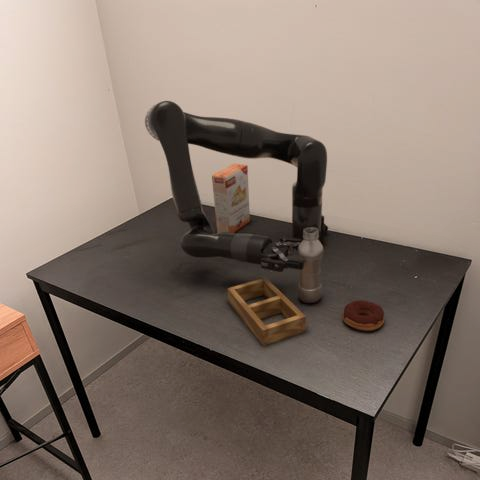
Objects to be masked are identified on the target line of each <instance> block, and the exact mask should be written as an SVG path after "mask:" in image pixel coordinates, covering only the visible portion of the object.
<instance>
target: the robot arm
mask: <svg viewBox="0 0 480 480" xmlns="http://www.w3.org/2000/svg"><path fill="white" fill-rule="evenodd" d="M144 127H145V129H146V131H147V133H148V134H149V135H150V136H151V137H152V138H153V139H154V140H156V141H159V143H160V145H161V148H162V151H163V153H164V157H165V159H166V163H167V169H168V173H169V182H170V190H171V195H172V199H173V203H174V205H175V206H174V207H175V209H176V213H177V216H178V219H179V220H180V221H181V222H183V223H188V225H189V227H190V230H189V231H187V232H186V233H184V235H182V237H181V239H180V247H181V249H182V251H183V252H184V253H185V254H186V255H188V256H190V257H193V258H203V259H204V258H223V259H229V260H235V261H239V262H242V263H248V264H254V265H260V266H261V267H260V268H261V269H263V270H268V271H273V272H277V273H278V272H279V273H283V272H284V270H288V269H294V270H299V271H300V270H302V269H303V268H304V262H303V261H301V260H299V259H295V258H288V257H290V256H293V255H294V254H298V247H299V245H300V244H301V242H302V241H303V240H304V239H303V231H304V229H305V228H309V227H314V228H317V229H318V235H319V238H318V240H319V241H320V243H321V244H322V245H324V237H325V236H324V235H325V234H327V233H328V230H329V226H328V225H327V224H326V223H325V216H324V215H323V191H324V190H323V188H324V187H325V183H326V178H327V167H328V151H327V148H326V146H325V144H324V143H323V142H321V140H318V139H316V138H314V137H312V136H310V135H304V134H295V133H285V132H279V131H276V130H274V129H273V130H272V129H271V128H268V127H265V126H263V125H259V124H256V123H252V122H249V121H245V120H241V119H237V118H228V117H217V116H199V115H196V114H192V113H189V112H186V111H184V110H183V109H182V108H181V106H180V105H178V104H177V103H176V102H174V101H171V100H163V101H160V102H158V103H156V104H154V105H152V106H151V107H150V108H149V109H148V110H147V111H146V113H145V117H144ZM189 145H193V146H197V147H200V148H201V147H202V148H205V149H208V150H210V151H214V152H217V153H221V154H224V155H229V156H232V157H236V158H237V157H238V158H241V159H242V158H243V159H249V160H250V159H251V160H253V159H254V160H256V159H273V160H277V161H281V162H283V163H287V164H289V165H292V166H294V167H295V168H296V171H297V172H296V175H297V176H296V181H294V182H293V183H292V186H291V230H292V231H291V237H287V236H286V237H285V236H281V237H280V236H279V241H278V242H277V241H275V242H273V240H272V239H271V238H270V237H269V236H267V235H259V234H252V233H237V232H235V233H230V232H219V233H217V232H216V233H215V231H214V229H213V226H212V224H211V223H210V221H209V219H208V216H207V215H206V213H205V211H204V209H203V205H202V200H201V197H200V193H199V189H198V185H197V181H196V178H195V174H194V168H193V164H192V160H191V153H190V147H189Z"/></svg>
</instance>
